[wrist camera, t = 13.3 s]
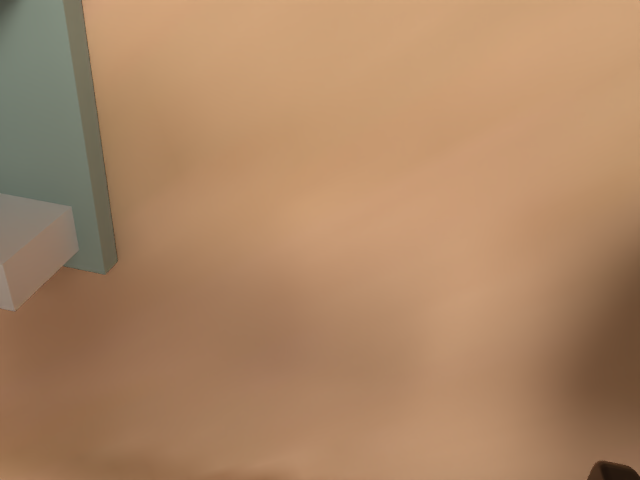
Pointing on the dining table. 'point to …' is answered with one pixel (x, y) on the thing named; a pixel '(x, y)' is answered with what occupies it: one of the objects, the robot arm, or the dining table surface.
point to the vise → (49, 150)
